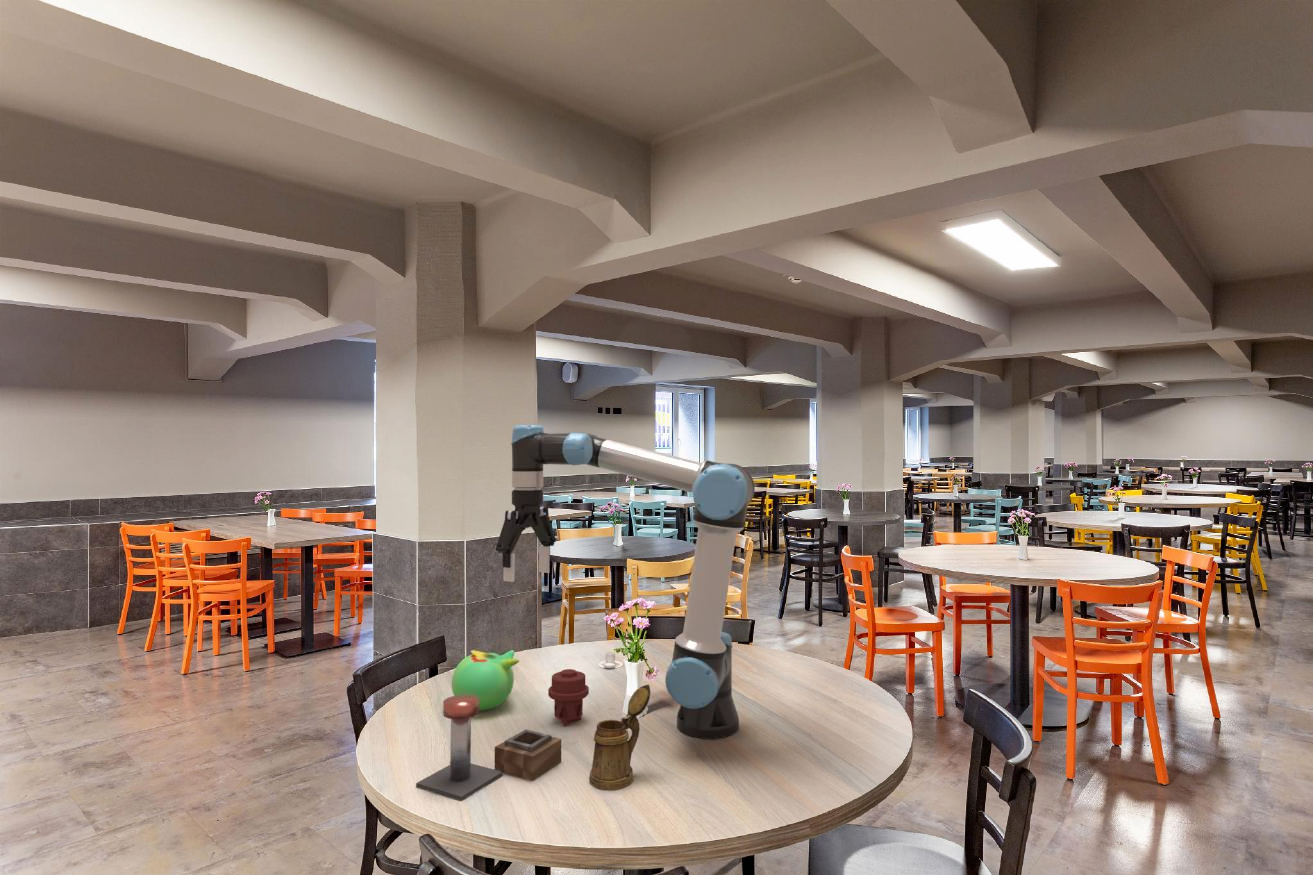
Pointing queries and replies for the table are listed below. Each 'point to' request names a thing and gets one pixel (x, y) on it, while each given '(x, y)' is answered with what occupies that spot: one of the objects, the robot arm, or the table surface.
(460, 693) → the toy bird
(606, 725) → the wooden mug
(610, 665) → the white ring with peg
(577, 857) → the table surface
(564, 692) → the mechanical component
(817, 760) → the table surface
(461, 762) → the peg
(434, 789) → the rubber mat
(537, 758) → the eye block
